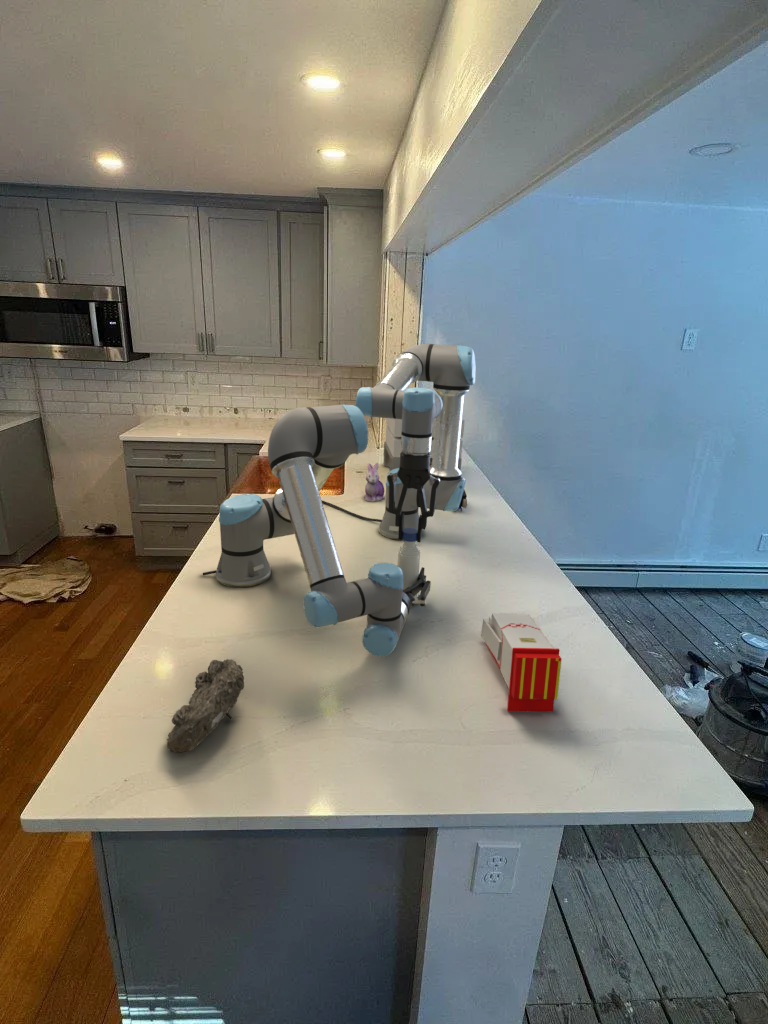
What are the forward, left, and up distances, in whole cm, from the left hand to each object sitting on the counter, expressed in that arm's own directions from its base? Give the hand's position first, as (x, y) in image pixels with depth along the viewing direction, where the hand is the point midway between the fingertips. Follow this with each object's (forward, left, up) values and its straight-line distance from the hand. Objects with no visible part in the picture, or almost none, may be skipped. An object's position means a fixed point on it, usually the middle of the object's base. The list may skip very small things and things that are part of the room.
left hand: (411, 570), depth 157 cm
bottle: (0, -5, -7) cm, 8 cm away
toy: (+29, -30, -7) cm, 42 cm away
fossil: (-27, -62, -7) cm, 67 cm away
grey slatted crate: (-19, +122, -7) cm, 123 cm away
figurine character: (+4, +77, -7) cm, 78 cm away
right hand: (0, -5, +12) cm, 13 cm away
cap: (0, -5, +13) cm, 14 cm away
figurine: (-30, +76, -7) cm, 82 cm away
